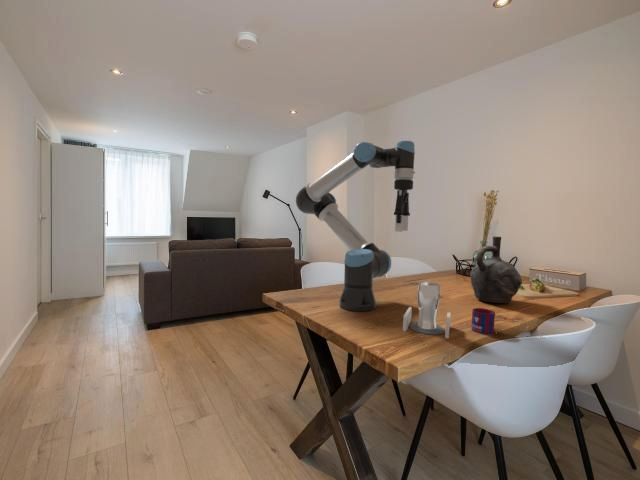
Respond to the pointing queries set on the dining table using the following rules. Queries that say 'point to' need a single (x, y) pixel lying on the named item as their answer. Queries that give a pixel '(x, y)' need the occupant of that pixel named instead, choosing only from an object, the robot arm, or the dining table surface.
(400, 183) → the robot arm
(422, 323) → the beer glass
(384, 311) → the dining table surface
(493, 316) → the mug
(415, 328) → the slate coaster
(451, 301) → the dining table surface
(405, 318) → the low walls
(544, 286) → the cutting board
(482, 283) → the vessel
